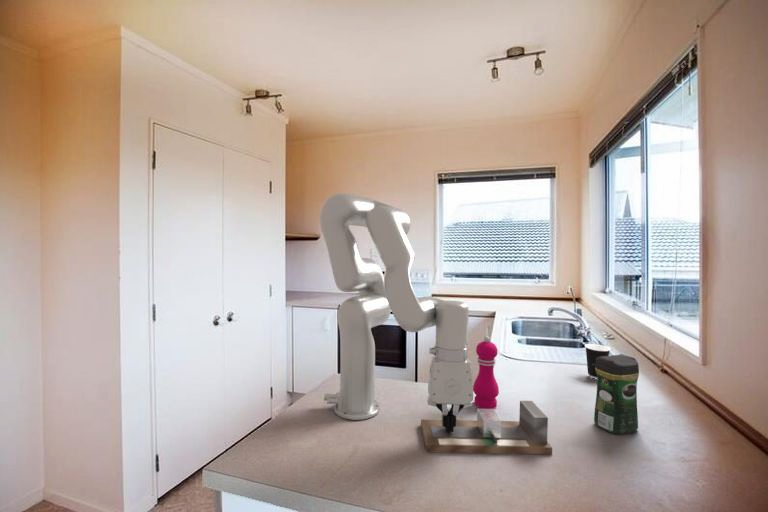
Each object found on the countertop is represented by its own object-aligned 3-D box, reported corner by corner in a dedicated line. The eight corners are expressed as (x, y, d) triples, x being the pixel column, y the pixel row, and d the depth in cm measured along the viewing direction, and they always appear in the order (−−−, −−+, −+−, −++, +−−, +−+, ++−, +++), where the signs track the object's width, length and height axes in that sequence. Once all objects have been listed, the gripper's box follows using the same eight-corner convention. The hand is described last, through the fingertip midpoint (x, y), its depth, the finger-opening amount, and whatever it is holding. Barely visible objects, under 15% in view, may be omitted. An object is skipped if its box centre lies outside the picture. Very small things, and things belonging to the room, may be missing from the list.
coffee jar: (614, 417, 99) (617, 350, 98) (643, 432, 91) (646, 358, 91) (587, 422, 96) (589, 352, 95) (614, 437, 88) (617, 362, 88)
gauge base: (426, 451, 81) (426, 418, 81) (420, 425, 93) (421, 396, 93) (552, 454, 81) (553, 421, 81) (530, 427, 93) (531, 398, 93)
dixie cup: (597, 373, 134) (598, 343, 134) (615, 381, 126) (616, 349, 126) (578, 374, 132) (579, 344, 132) (595, 382, 125) (596, 350, 124)
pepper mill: (499, 411, 102) (501, 340, 101) (473, 408, 103) (474, 338, 102) (497, 400, 109) (498, 334, 108) (472, 398, 110) (473, 332, 110)
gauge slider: (486, 444, 81) (487, 426, 81) (476, 424, 90) (477, 408, 90) (504, 444, 81) (505, 426, 81) (493, 425, 90) (493, 409, 90)
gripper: (421, 357, 83) (419, 436, 83) (486, 359, 83) (484, 438, 83) (418, 348, 90) (416, 421, 91) (478, 349, 90) (476, 422, 91)
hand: (448, 429), depth 87 cm, fingers closed
